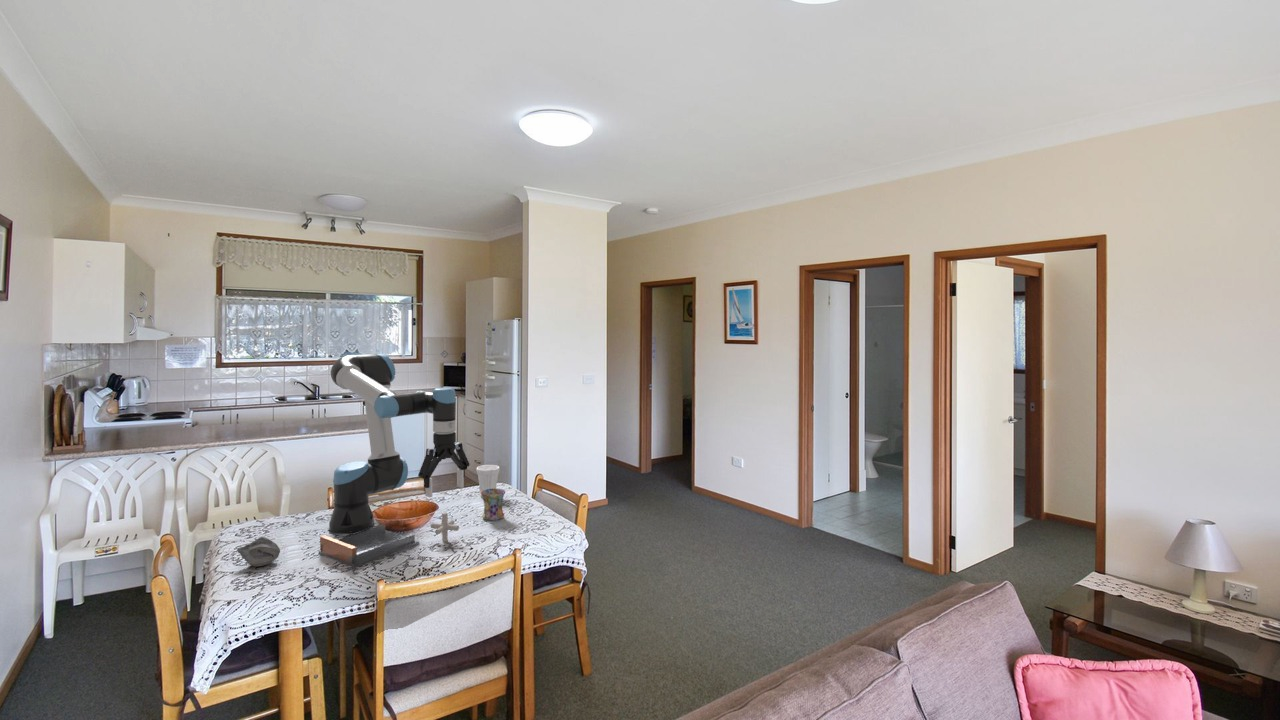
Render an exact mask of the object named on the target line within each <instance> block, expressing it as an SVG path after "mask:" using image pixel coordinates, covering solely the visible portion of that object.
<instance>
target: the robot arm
mask: <svg viewBox="0 0 1280 720" xmlns="http://www.w3.org/2000/svg"><path fill="white" fill-rule="evenodd" d="M330 378H331V380H332V381H333V383H334V384H335V385H337V387H339V388H341V389H342V390H349V391H350V392H351V393H353V394H355V395H356V396H357V397H359V398H361V399H362V400H364V406H365V407H364V408H365V413H366V414H365V415H366V423H367V431H368V438H369V439H368V440H369V447H370V456H368V458H367V461H365V460H364V461H363V460H359V461H352V462H347V463H344V464H342V465H339V466H337V468H336V469H335V470H334V472H333V480H332V482H333V507H334V508H333V510H332V514H331V517H330V519H329V522H328V523H329V524H328V525H329V527H328V528H329V531H331V532H333V533H338V534H339V533H341V534H347V533H350V534H351V533H356V532H359V531H362V530H366V529H369V528H372V526H373V527H374V524H375V517H374V513H373V512H372V508H371V507H370V503H369V501H370V500H369V497H370V496H371V495H375V494H379V493H383V492H387V491H394V490H396V489H400V488H401V487H402V486H404V485H405V483H406V481H407V480H408V475H409V467H408V463H407V462H406V460H405V459H404V458H403V457H401V455H400V453H399V452H397V451H396V450H395V449H396V448H395V441H394V433H393V425H392V418H397V417H402V416H409V415H410V416H411V415H420V414H427V413H428V414H432V432H434V433H433V434H432V435H433V436H432V437H433V438H432V439H433V440H432V443H433V445H434V446H433V448H426V450H425V456H424V459H423V462H422V464H421V466H420V469H419V472H418V476H417V477H418V478H422V479H423V487H424V490H425V491H424V492H425V497H428V498H433V478H432V475H433V474H434V472H435V471H436V468H437V466H439V463H440V462H442V460H447V459H451V460H452V461H453V463H454V464H455V465H456V466H457V468H456V488H460V489H464V487H465V486H464V485H465V482H464V480H465V479H464V478H465V477H466V470H468V467H469V466H470V461H469V460H468V458H467V455H466V453H465V451H464V447H463V443H462V442H458V441H457V433H456V430H457V429H456V428H457V427H456V426H457V425H456V423H457V422H456V419H457V416H456V415H457V414H456V413H457V412H456V410H457V406H456V405H457V402H456V401H457V398H456V390H455V389H454V388H453V387H437V388H433V390H432V391H428V390H417V391H415V392H409V393H396V392H395V391H392V389H390V388H391V383H392V382H393V381H394V380H395V379H396V367H395V364H394V361H393V360H392V359H391V358H390V357H389V356H388V355H387V354H383V353H382V354H381V353H369V354H350V355H349V354H347V355H343V356H341V357H339V358H338V359H337V360H335V362H334V363H333V365H332V366H331V369H330ZM455 451H456V452H455Z"/></svg>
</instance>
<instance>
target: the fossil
mask: <svg viewBox="0 0 1280 720" xmlns="http://www.w3.org/2000/svg"><path fill="white" fill-rule="evenodd" d="M237 552H238V553H239V554H240V556H241V558H242V559H244V560H245V562H246V563H247V564H248V565H250V566H252V567H262V566H263V567H264V566H267V565H269V564H272V563H273V562H275V561H276V560H277V559H278V558H279V556H280V554H281V553H280V552H281V549H280V547H279V545H278V544H277V543H276V542H275V541H272V540H271V539H270V538H268V537H266V536H259V537H258V538H256V539H255V540H253V541H251V542H250V543H249V544H246V545H244V546H241V547H238V548H237Z"/></svg>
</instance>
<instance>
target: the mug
mask: <svg viewBox="0 0 1280 720" xmlns="http://www.w3.org/2000/svg"><path fill="white" fill-rule="evenodd" d="M505 494H506V490H505V489H502V488H497V487H496V488H494V489H486V490H483V491H482V492H481V493H480V496H481V495H482V497H481V498H482V499H483V505H484V509H483V512H482V516H481V518H482V519H483V520H486V521H498V520H500V519H502V518H505V517H504V516H505V514H504V511H503V499H504V496H505Z"/></svg>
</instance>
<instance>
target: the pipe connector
mask: <svg viewBox="0 0 1280 720" xmlns="http://www.w3.org/2000/svg"><path fill="white" fill-rule="evenodd" d="M448 514H449V513H448V512H446V511H445V512H441V523H438V522H437V523H436V522H431V524H430V528H431V529H434V533H435V535H440V534H441V537H442V538H441V541H442V542H443V543H444V542H445V543H446V542H448V538H449V537H448V535H449V534H448V531H459V529H460V526H459V525H456V524H455V520H453V519H450V520H449V519H448V518H449V517H448ZM448 520H449V521H448Z"/></svg>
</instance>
